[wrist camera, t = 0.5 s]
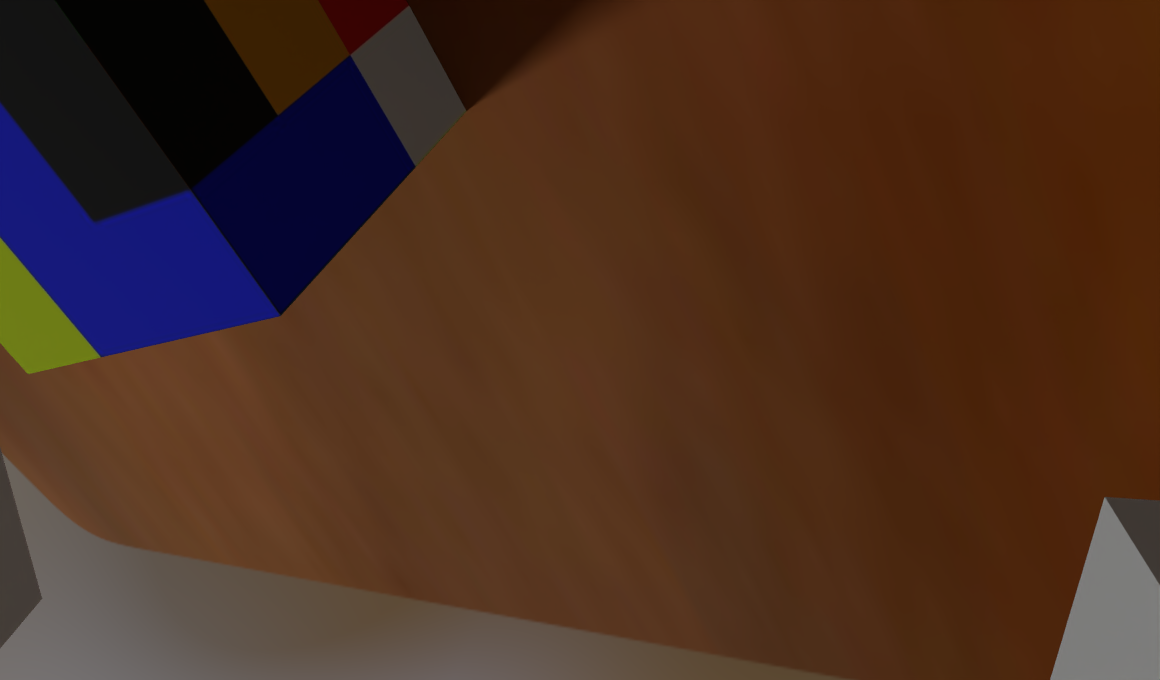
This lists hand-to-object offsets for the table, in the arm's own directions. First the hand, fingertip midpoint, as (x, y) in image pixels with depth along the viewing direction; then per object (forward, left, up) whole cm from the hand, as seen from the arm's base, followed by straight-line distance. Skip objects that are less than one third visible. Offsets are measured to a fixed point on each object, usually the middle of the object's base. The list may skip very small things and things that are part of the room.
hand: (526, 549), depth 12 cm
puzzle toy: (+5, -15, -17) cm, 24 cm away
